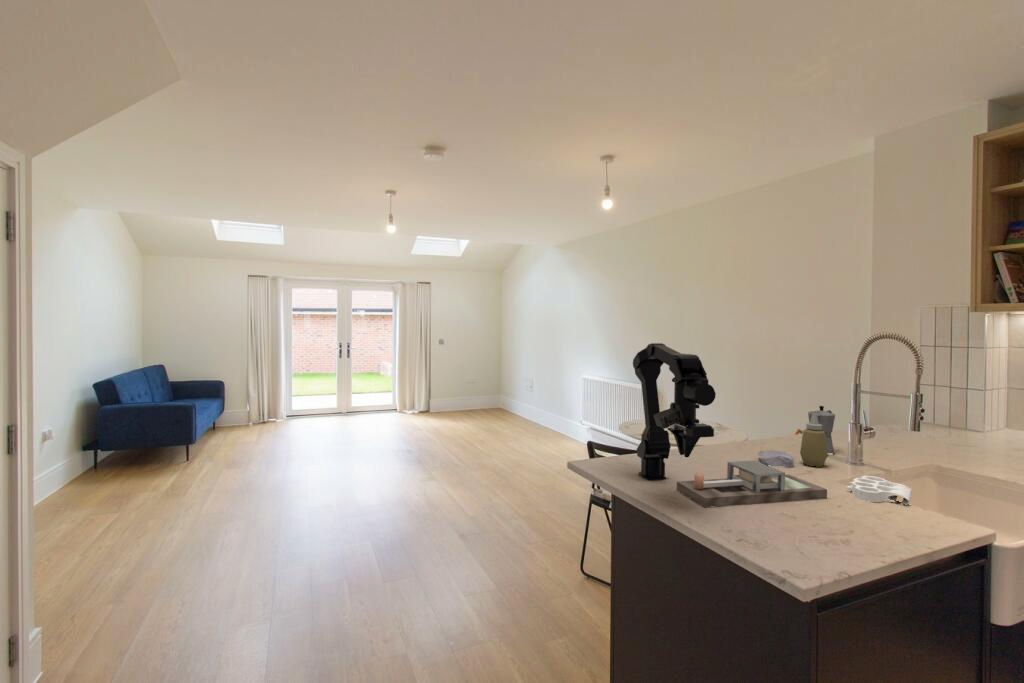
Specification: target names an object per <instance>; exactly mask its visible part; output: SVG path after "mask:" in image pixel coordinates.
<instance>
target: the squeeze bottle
mask: <svg viewBox="0 0 1024 683" xmlns="http://www.w3.org/2000/svg"><path fill="white" fill-rule="evenodd" d="M805 426H806V429H804V430H802V437H801V445H800V451H799V452H800V453H799V454H800V457H801V460H802V463H803V464H804V465H805V464H806V466H808V465H809V466H808V467H812V466H816V467H815V468H822V467H821V466H823V465H825V463H826V461H827V459H828V455H827V446H826V436H825V432H824V431H822V425H821V424H819V423H818V418H817V414H812V418H811V421H810V423H809V422H807V423H806V425H805ZM823 467H824V466H823Z"/></svg>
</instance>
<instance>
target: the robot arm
mask: <svg viewBox="0 0 1024 683" xmlns="http://www.w3.org/2000/svg"><path fill="white" fill-rule="evenodd" d="M664 364H665V365H667V366H668V370H669V372H671V373H672V374H673V375H674V377H672V378H671V382H672V383H674V387H673V388H674V391H673V392H674V396H673V397H674V401H673V402H670V404H669V406H670V407H669V408H668V409H663V410H662V411H661V410H660V409H661V408H660V401H659V400H660V398H659V393H658V381H657V380H658V378H659V376H660V374H661V371H662V370H661V367H662V366H663V365H664ZM632 367H633V369H634V374H635V376H636V377H637V379H638V380H639V381H640V384H641V392H642V403H643V412H644V413H643V414H644V424H645V427H644V429H643V432H642V434H641V441H640V442H639V444H638V446H637V448H636V456H637V457H638V458H640V463H641V464H640V471H639V472H638V475H640V476H641V475H642V476H641V477H643V478H644V479H646V480H647V479H648V481H651V480H666V479H667V477H666V463H665V462H666V461H665V459H667V460H668V459H669V456H670V451H671V447H672V446H671V442H670V436H669V435H670V434H669V432H670V433H671V434H672V435H673V436H674V440H675V442H676V446H677V449H678V453H679V455H680V456H684V457H685V458H689V457H690V456H691V454H692V452H693V450H694V448H695V447H696V445H697V443H698V441H699V440H700V439H701V438H714V436H715V429H714V427H713V426H711V425H710V424H706V423H703V422H702V423H700V419H698V418H697V409H700V406H704V407H706V406H709V405H712V403H714V401H715V399H716V394H717V393H716V391H715V389H714V387H713V386H712V385H711V384H709V378H708V377H707V372H706V370H705V368H704V366H703V362H702V361H701V359H700V357H699V356H698V354H692V353H681V352H679V351H677V350H675V349H673V348H671V347H669V346H667V345H666V344H665V343H662V342H661V343H659V342H657V343H656V342H655V343H653V342H651V343H647V346H646V347H645V348H643V349H642V350H639V351H637V353H636V355H635V356H634V357H633V359H632ZM666 429H667V430H666ZM668 431H669V432H668Z"/></svg>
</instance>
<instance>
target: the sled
mask: <svg viewBox="0 0 1024 683" xmlns="http://www.w3.org/2000/svg"><path fill="white" fill-rule="evenodd" d="M704 476H705V474H703V473H699V472H697V473H694V480H695V482H694V487H695V488H696V489H704V488H708V487H723V486H738V485H743V486H745V487H747V488H749V489H752V490H753V484H752V483H750V482H748V481H746V480H744V479H742V478H739V474H734V475H733V480H719V481H704V480H705V477H704ZM770 488H778V482H776V481H774V480H772V482H769V483H760V489H770Z"/></svg>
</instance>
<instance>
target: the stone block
mask: <svg viewBox="0 0 1024 683" xmlns="http://www.w3.org/2000/svg"><path fill="white" fill-rule="evenodd" d="M757 454H758V457H759V459H760V461H761V463H762V464H763V463H764V465H765V464H766V465H771V466H770V467H773V466H785V467H784V468H794V466H795V460H794V457H793V455H792V454H790V453H789V454H788V453H787V452H786V451H784V450H782V451H781V450H774V449H765V450H761V451H758V453H757Z"/></svg>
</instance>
